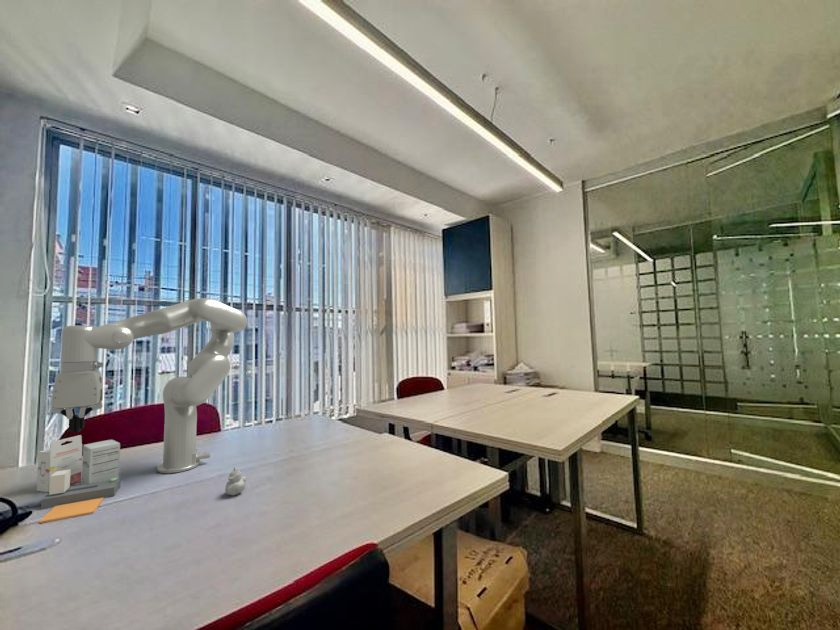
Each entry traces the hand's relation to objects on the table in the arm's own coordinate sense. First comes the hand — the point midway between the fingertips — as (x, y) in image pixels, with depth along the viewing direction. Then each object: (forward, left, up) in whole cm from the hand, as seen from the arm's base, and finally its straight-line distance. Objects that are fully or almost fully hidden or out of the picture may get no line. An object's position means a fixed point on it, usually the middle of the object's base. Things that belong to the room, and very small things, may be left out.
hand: (76, 431), depth 99 cm
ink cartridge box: (+7, -14, -19) cm, 25 cm away
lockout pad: (-3, +9, -19) cm, 21 cm away
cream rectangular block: (+3, 0, -16) cm, 17 cm away
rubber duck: (-41, +19, -19) cm, 49 cm away
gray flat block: (-2, 0, -19) cm, 19 cm away
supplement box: (-4, -9, -19) cm, 21 cm away
